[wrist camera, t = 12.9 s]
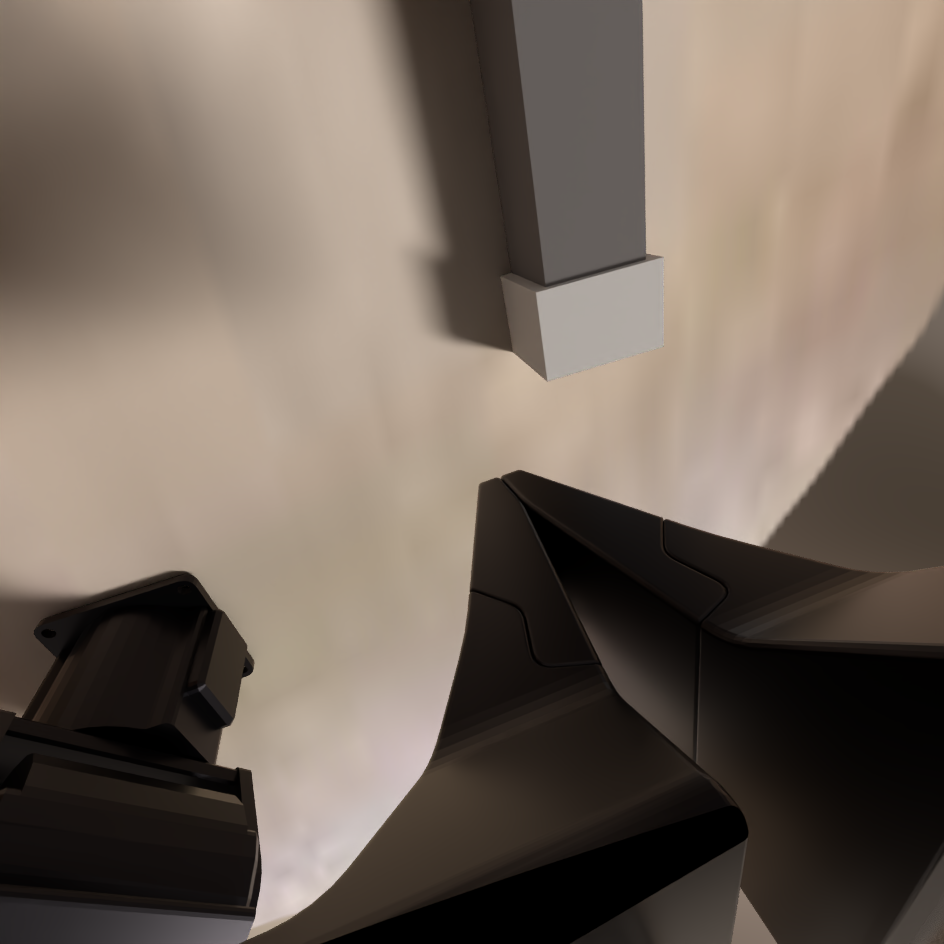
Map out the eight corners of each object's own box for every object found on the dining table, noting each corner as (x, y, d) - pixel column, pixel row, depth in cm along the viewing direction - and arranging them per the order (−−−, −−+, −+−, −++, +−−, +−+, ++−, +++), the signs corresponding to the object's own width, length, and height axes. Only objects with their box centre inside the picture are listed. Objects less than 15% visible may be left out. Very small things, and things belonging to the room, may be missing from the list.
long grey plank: (611, 323, 21) (663, 346, 17) (512, 351, 20) (547, 381, 17) (560, -641, 10) (669, -1031, 7) (351, -628, 10) (361, -1040, 6)
